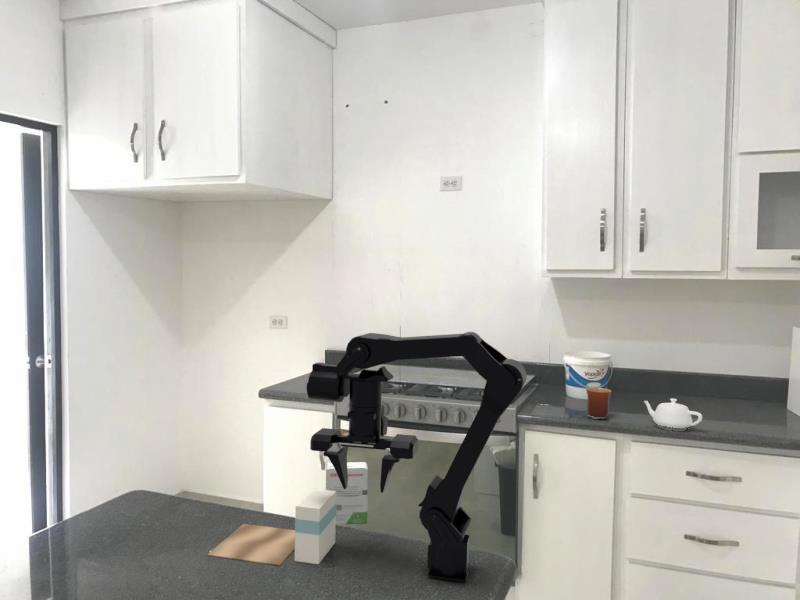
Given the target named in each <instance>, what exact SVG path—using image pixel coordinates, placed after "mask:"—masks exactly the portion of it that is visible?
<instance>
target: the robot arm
mask: <svg viewBox="0 0 800 600" xmlns="http://www.w3.org/2000/svg"><path fill="white" fill-rule="evenodd" d="M455 357H457V358H458V357H459V358H460V357H462V358H464V359H465V361H467V362H468V363H469V364H470V366H471V367H472V368H473V369H474V370H475V371H476V373H478V375H480V376H481V378H483V380H485V381H486V382H485V386H484V389H483V392H482V396H481V401H480V406H479V409H478V411H477V413H476V414H475V417H474V419H473V421H472V423H471V425H470V427H469V429H468V431H467V432H466V434H465V436H464V438H463V440H462V443H461V444H460V446H459V448H458V451H457V453H456V454H455V456H454V457H453V458H454V459H452V462H451V464H450V466H449V468H448V471H447V472H446V473H445V475H444V477H443V478H441V476H439V475H438V474H436V475H435V476H434V478H433V479H432V480H431V482H430V483H429V484H428V486H427V488H426V492H425V495H424V496H423V498H422V499H421V501H420V502H419V504H418V507H421V508H420V510H419V515H418V517H419V519H420V522H421V525H422V526H423V528H424V529H426V530H427V534H428V536H429V539H430V541H429V543H428V545H427V558H426V559H427V561H426V562H427V563H426V564H427V565H426V568H427V570H428V573H427V577H428V578H431V579H437V580H438V579H439V580H443V581H444V580H445V581H451V582H452V581H453V582H459V583H466V582H467V579H468V575H469V571H470V567H471V562H469V561H470V559H469V557H470V535H469V534H466V533H467V531H468V529H469V528H470V525H471V522H472V518H471V517H470V515H469V514H468V513H467V512H466V511H465V509H464V508H463V507H462V502H463V499H464V495H465V490H466V485H467V481H468V480H469V478H470V477H471V475H472V474H471V473H472V472H473V470H474V468H475V467H476V464H477V462H478V460H479V458H480V457H481V454H482V453H483V451H484V449H485V447H486V445H487V442H488V441H489V439H490V437H491V435H492V433H493V432H494V429H495V427H496V426H497V423H498V421H499V419H500V418H501V416H502V415H503V414H504V413H505V411H506V410H507V409H508V408H509V407H510V405H511V404H512V403H513V402H514V400H515V399H516V397H518V395H519V394H520V392H521V391H522V389H523V387H524V385H525V383H526V380H527V375H528V374H527V372H526V369H525V366H524V365H523V364H522V363H521V362H519V361H518V360H516V359H513V358H508V357H506V356H505V355H504V354H503V353H502V352H501V351H499V350H498V349H496V348H495V347H493V346H492V345H491V344H489V343H487V342H486V341H485V340H484V339H483V338H482V337H481V336H480V335H479V334H478V333H476V332H474V331H466V332H464V333H453V334H452V333H451V334H450V333H449V334H436V335H421V336H420V335H419V336H406V337H405V336H403V337H402V336H396V335H392V334H391V335H390V334H385V333H376V332H369V333H365V334H360V335H358V336H354V337H352V338H351V339H350V340H349V342H348V343H347V346H346V348H345V355H343V357H342V358H341V360H340V361H339V363H338V364H328V363H324V362H315V363H313V364H312V367H311V368H312V370H311V372H310V374H309V376H308V381H307V383H306V395H307V397H308V399H309V400H312V401H319V402H320V401H324V402H336V403H341V402H343V400H344V399H345V398H347V397H348V396H349V398H348V399H349V401H348V403H349V405H348V409H349V410H348V411H347V417H346V418H347V419H348V434H347V435H344V434H343V435H342V432H341V429H340V428H339V429H338V428H327V427H325V428H324V427H322V428H321V429H319V430H318V431H317V432H315V433H314V434H313V435H312V436H311V438H310V450H311V451H314V452H323V453H322V454H323V456H324V457H328V459H329V461H330V463H332V465H333V466H334V468H335V470H336V472H337V474H338V477H339V479H340V482H341V484H342V486H343V488H344V489H346V488H347V485H348V472H347V462H348V458H347V457H348V450H349V448H357V449H371V450H381V451H383V450H384V451H385V453H386V454H385V455H384V456H383V457H382V458H381V467H380V468H381V470H380V483H379V484H380V485H379V487H380V493H382V494H383V493H384V492H385V489H386V488H387V484H388V481H389V479H390V475H391V472H392V469H393V467H394V465H395V464H396V463H399V462H401V460H402V459H404V460H412V459H414V457H415V456H416V455H417V453H418V451H419V439H418V437H417V436H416V435H413V434H412V435H411V434H399V433H397V434H396V435H394V437H393V438H392V439H391V438H382V437H384V436H386V435H387V434H388V425H389V417H387V416H386V415H384V414H383V412H384V411H383V407H382V389H383V388H382V383H386V382H390V381H391V380H393V379H394V375H393V374H392V373H391V372H390V371H388V370H387V367H386V366H384V364H388V363H392V362H395V361H400V360H401V361H402V360H417V359H418V360H420V359H422V360H423V359H435V358H436V359H437V358H455ZM380 365H383V366H381V367H379V368H378V369H377V370H376V369H368V368H372V367H376V366H380ZM357 369H360V370H361V371H360V372H359V373H352V372H353V371H355V370H357Z"/></svg>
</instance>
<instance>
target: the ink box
mask: <svg viewBox="0 0 800 600" xmlns="http://www.w3.org/2000/svg"><path fill="white" fill-rule="evenodd" d="M368 469H369V468H368V464H367V462H366V461H355V462H354V461H351V462H348V461H347V472H348V485H347V488H346V489H344V488H343V486H342V484H341V482H340V479H339V477H338V474H337V472H336V470H335V468H334V466H333V465H332V463H331V462H326V465H325V490H330V491H336V526H338V525H363V524H364V525H365V524H368V484H369V483H368V478H369V477H368V475H369V473H368V472H369V470H368Z"/></svg>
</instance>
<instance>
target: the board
mask: <svg viewBox="0 0 800 600" xmlns="http://www.w3.org/2000/svg"><path fill="white" fill-rule="evenodd" d="M293 552H295V529H288V528H280V527H272V526H263V525H256V524H248V523H247V524H246V523H242V525H240V526H239V527H238V528H237V529H235V531H233V532H232V533H231V534H230V535H229V536H228V537H226V538H225V539H224V540H223V541H221V543H219V544H218V545H217V546H216V547H215V548H213V549H212V550H211V551H210V552H208V553H207V554H206V556H208V557H216V558H220V559H221V558H222V559H227V560H228V559H230V560H235V561H243V562H249V563H250V562H251V563H256V564H257V563H258V564H264V565H273V566H279V567H281V565H282V564H283V563H284V562H285V561H286V560H287V559H288V558H289V556H290V555H291V554H292V553H293Z"/></svg>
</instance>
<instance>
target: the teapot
mask: <svg viewBox="0 0 800 600" xmlns="http://www.w3.org/2000/svg"><path fill="white" fill-rule="evenodd" d="M669 400H670V401H671V402H662V403H661V402H660V403H659V404H658V405H657V406H656V408H655V411H654V410H653V408H652V406H651V404H650V403H649V401H648V400H643V403H644V404H645V406H646V408H647V410H648V413H649V415H650V416H651V418H652V419H653V422H655V423H656V424H658V425H661V426H667V427H671V428H672V427H673V428H685V427H690V426H691V427H692V426H697V425H698V424H700V423H701V422H702V421H703V414H701V412H698V411H693V410H689V407H688V406H687V405H684V404H680V403H677V401H678V399H677V398H670V399H669ZM692 415H693V416H697V417H698V418H697V420H696V421H694V420H693V418H692ZM655 423H654V424H655ZM656 424H655V425H656ZM691 427H690V428H691Z"/></svg>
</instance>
